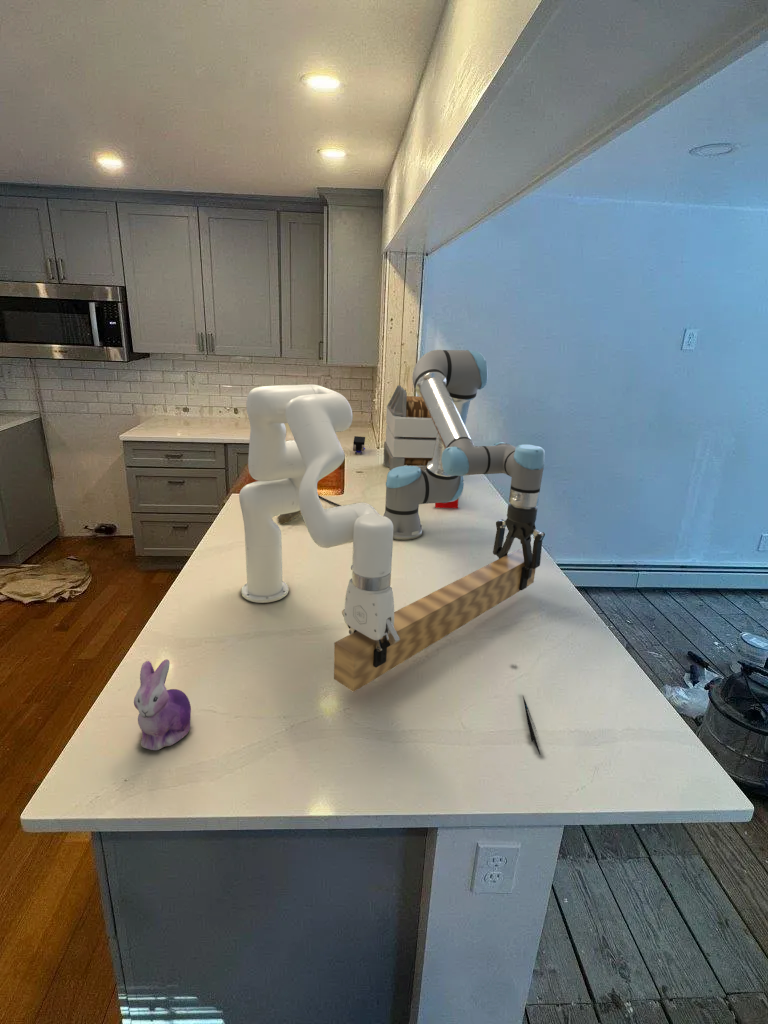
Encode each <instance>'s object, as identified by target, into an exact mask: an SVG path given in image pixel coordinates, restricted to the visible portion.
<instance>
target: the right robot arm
mask: <svg viewBox="0 0 768 1024" xmlns="http://www.w3.org/2000/svg"><path fill="white" fill-rule="evenodd" d="M488 379H489V368H488V363H487V360H486V358H485V356H484V355H483V354H482V353H481V352H480V351H478V350H469V349H465V350H464V349H434V350H429V351H428V352H426V353H425V354H422V356H421V357H420V358H419V359H418V361H417V362H416V364H415V365H414V367H413V371H412V384H413V388H414V390H415V393H416V394H417V395H418V397H422V398H423V400H424V402H425V404H426V407H427V409H428V411H429V414H430V416H431V418H432V420H433V423H434V425H435V427H436V430H437V437H436V442H435V448H434V453H433V459H432V460H431V461H429V462H428V463H427V466H425V470H422V469H421V467H420V466H407V465H404V466H400V467H396V468H393V469H392V470H390V469H389V470H388V472H387V475H386V482H385V504H384V505H385V507H384V508H385V509H384V513H383V515H382V516H385V517H387V518H389V519H390V520H391V521H392V523H393V540H395V541H410V540H415V539H418V538H420V537H421V536H422V535H423V525H422V524H421V518H420V515H419V507H420V505H425V504H426V505H427V504H435V503H447V502H453V501H455V500H457V499H458V498H460V497H461V495H462V493H463V490H464V486H465V485H464V484H465V483H464V481H465V479H464V476H473V475H497V474H498V475H499V474H504V475H507V476H509V477H510V479H511V480H510V488H509V496H508V505H507V510H506V511H507V512H506V519H499V520H497V521H495V528H496V531H495V537H494V544H493V549H492V554H493V555H494V556H496V557H497V558H498V559H500V558H502V557H504V556H506V555H508V554H509V552H510V549H511V547H512V545H513V543H514V540H515V539H517V540H519V542H520V545H521V549H522V550H523V556H524V563H525V566H524V567H523V568H522V572H521V579H520V586H519V590H521V591H520V592H522V591H523V590H525V589H527V588H528V586H527V581H528V579H530V578H531V573H532V569H535V568H536V569H537V568H539V567H540V566H541V560H542V559H541V558H542V550H543V549H542V548H543V540H544V538H545V536H546V533H545V531H539V530H538V529H537V528H536V527H537V526H536V521H537V516H538V515H537V514H538V506H539V502H540V492H541V487H542V481H543V474H544V468H545V457H546V451H545V449H544V448H543V447H541V446H539V445H534V444H519V445H517V446H515V445H513V444H511V443H508V442H503V441H498V442H496V443H494V444H491V445H475V444H474V442H473V440H472V438H471V436H470V433H469V432H468V429H467V427H466V423H467V418H468V414H469V409H470V404H471V401H473V400H474V399H476V397H477V393H478V390H482V389H484V388H485V387H486V385H487V383H488V381H489V380H488ZM318 496H319V499H322V500H323V501H325V502H327V503H330V504H332V505H334V506H336V507H337V506H342V505H341V504H339V503H336V502H333V501H332V500H329V499H327V498H325V497H322V496H321V495H320V494H318ZM458 500H459V499H458ZM506 528H507V531H508V532H507V534H506V536H505V533H506ZM532 535H533V544H532V543H531V542H532ZM504 538H505V540H504ZM536 569H535V570H536Z"/></svg>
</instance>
